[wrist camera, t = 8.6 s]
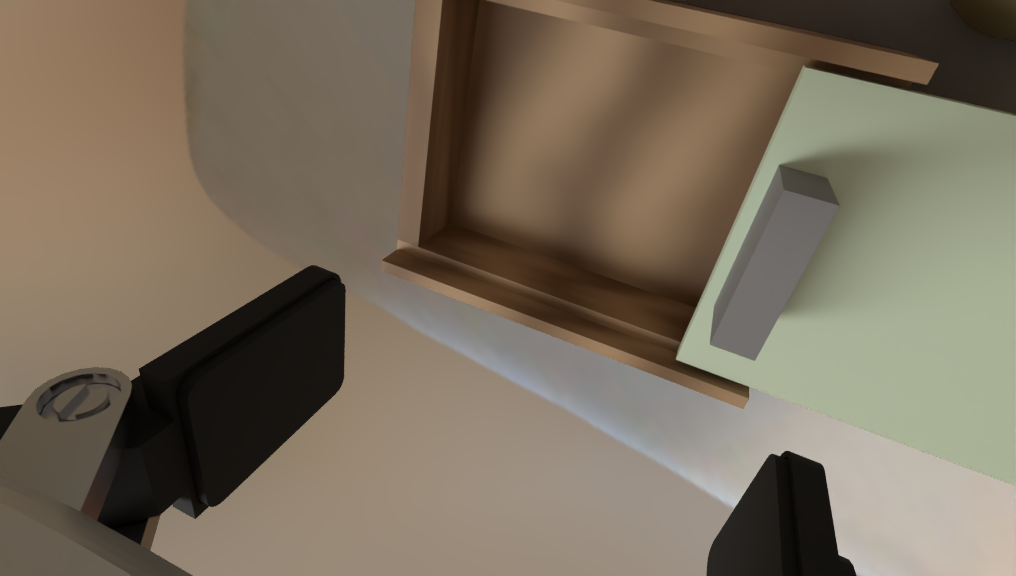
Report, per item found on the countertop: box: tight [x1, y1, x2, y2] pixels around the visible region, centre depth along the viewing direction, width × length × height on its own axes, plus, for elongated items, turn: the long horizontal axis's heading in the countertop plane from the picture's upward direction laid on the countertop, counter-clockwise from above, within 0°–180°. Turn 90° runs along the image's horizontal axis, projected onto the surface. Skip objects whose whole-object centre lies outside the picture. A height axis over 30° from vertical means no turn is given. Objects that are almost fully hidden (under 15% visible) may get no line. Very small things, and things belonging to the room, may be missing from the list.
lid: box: [676, 65, 1016, 486], centre depth 17 cm, size 18×12×4 cm
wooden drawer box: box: [381, 0, 939, 409], centre depth 24 cm, size 18×14×6 cm
